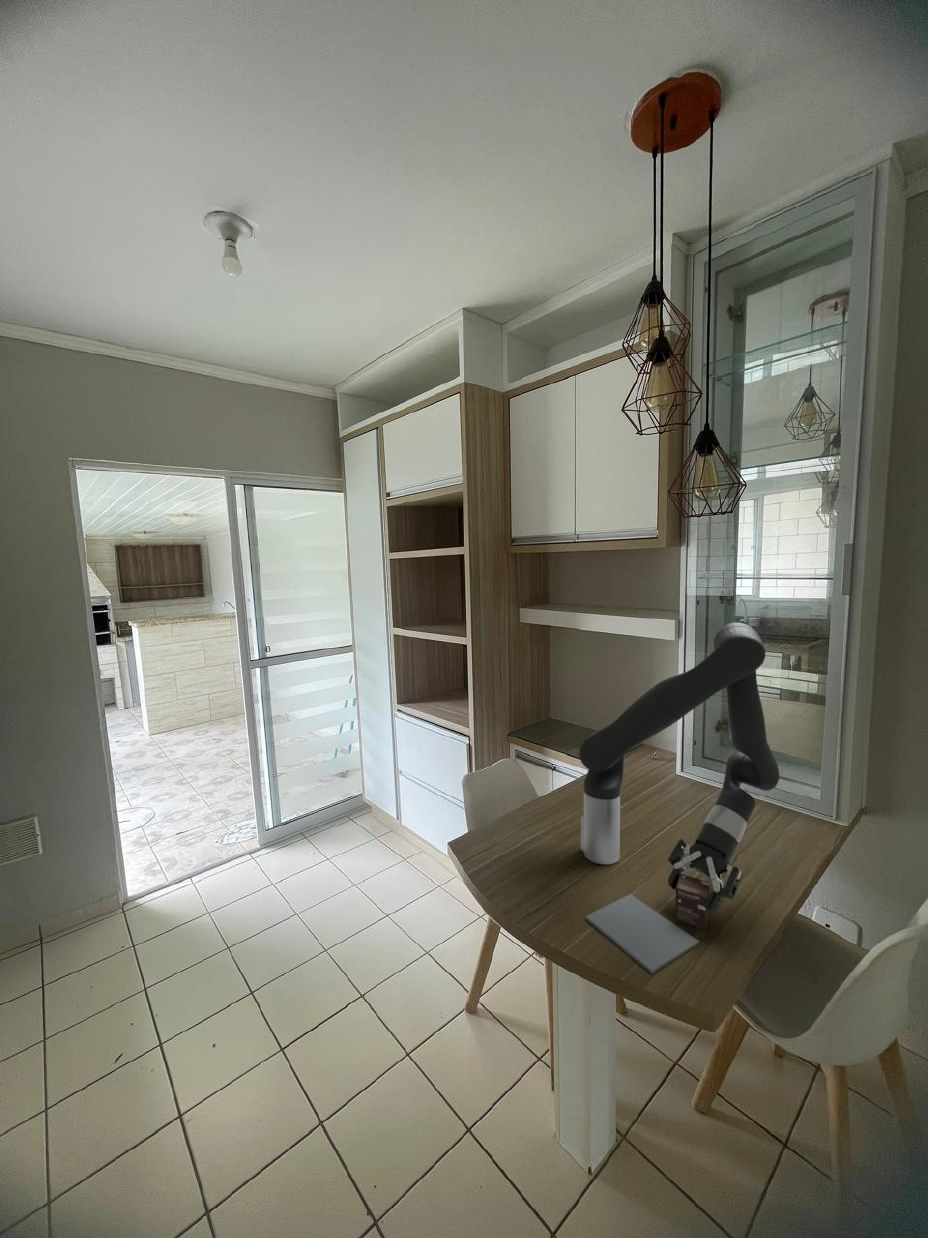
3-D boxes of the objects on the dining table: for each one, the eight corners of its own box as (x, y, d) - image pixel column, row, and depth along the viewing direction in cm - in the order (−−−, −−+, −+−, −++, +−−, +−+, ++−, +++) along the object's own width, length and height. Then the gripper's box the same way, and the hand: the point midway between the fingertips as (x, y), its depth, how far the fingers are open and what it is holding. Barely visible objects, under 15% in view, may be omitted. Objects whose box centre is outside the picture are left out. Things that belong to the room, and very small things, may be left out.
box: (674, 920, 102) (674, 887, 102) (679, 904, 107) (680, 873, 107) (705, 931, 99) (706, 897, 98) (709, 914, 104) (710, 882, 103)
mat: (585, 919, 103) (585, 916, 103) (630, 896, 110) (630, 894, 110) (652, 974, 88) (652, 971, 88) (698, 944, 95) (698, 941, 95)
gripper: (685, 810, 112) (652, 873, 107) (747, 838, 99) (713, 910, 94) (699, 826, 115) (667, 888, 110) (760, 855, 102) (728, 925, 98)
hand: (688, 898), depth 102 cm, fingers open, 8 cm apart
